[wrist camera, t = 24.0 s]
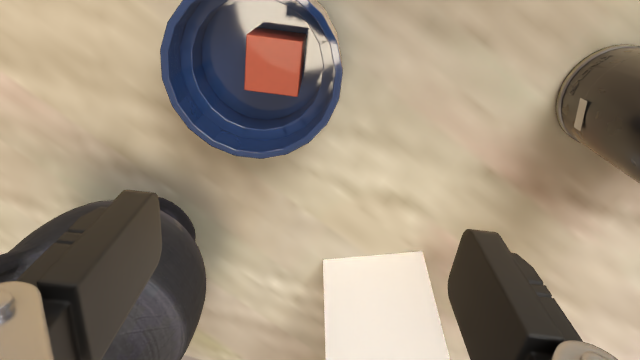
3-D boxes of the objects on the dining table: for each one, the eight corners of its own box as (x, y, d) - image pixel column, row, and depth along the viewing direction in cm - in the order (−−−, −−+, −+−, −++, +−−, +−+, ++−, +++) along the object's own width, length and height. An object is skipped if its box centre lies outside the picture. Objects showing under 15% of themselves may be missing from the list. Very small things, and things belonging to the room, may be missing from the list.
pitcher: (139, 307, 53) (-62, 653, 26) (18, 175, 45) (-453, 480, 18) (255, 259, 49) (161, 609, 22) (146, 105, 41) (-212, 361, 14)
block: (306, 33, 37) (303, 41, 33) (301, 84, 39) (297, 97, 35) (255, 27, 37) (246, 34, 33) (253, 77, 39) (243, 90, 35)
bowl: (350, -15, 35) (354, -13, 30) (330, 139, 42) (330, 166, 36) (184, -36, 35) (154, -37, 29) (189, 123, 41) (165, 148, 36)
